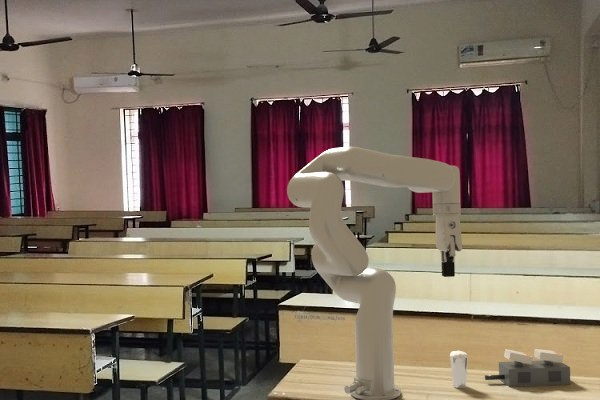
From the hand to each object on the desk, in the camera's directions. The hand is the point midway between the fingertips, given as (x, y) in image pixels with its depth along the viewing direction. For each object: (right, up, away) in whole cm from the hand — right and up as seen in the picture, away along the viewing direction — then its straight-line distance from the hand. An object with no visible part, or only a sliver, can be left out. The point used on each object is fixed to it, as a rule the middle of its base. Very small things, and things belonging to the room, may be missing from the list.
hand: (448, 276), depth 166 cm
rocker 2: (+24, -20, -9) cm, 32 cm away
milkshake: (+1, -27, -11) cm, 30 cm away
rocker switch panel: (+18, -27, -9) cm, 33 cm away
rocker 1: (+16, -20, -9) cm, 27 cm away
